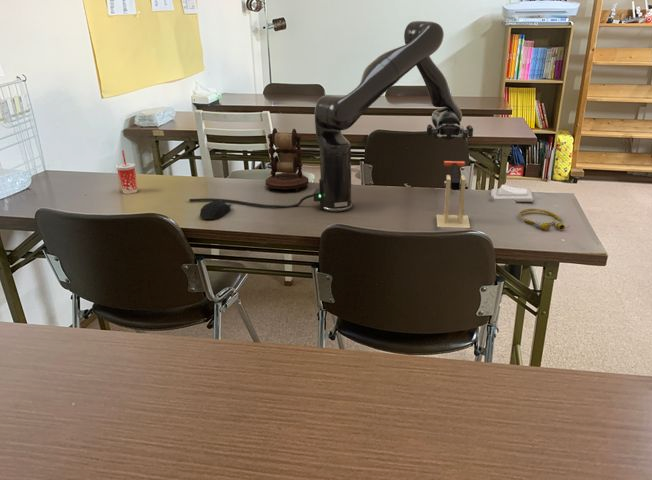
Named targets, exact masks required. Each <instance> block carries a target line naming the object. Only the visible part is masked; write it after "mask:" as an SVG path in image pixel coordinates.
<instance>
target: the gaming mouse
mask: <svg viewBox="0 0 652 480" xmlns="http://www.w3.org/2000/svg"><path fill="white" fill-rule="evenodd" d="M231 205H232V204H231V203H229V204H228V203H227V202H226V203H225V201H221V200H220V201H217V200H216V201H210V202H207V203H206V204H204V205H203V206H202V207H201V209H200V212H199V217H200V218H202V219H205V220H214V219H219V218H222V217H223V216H224V215H226V214H227V213H229V212H230V211H231Z"/></svg>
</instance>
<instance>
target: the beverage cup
mask: <svg viewBox="0 0 652 480" xmlns="http://www.w3.org/2000/svg"><path fill="white" fill-rule="evenodd" d="M121 153H122V159H123V163H120V164H117V165H116V166H115V168H116V169H115V170H117V174H118V178H119V182H120V187H121V189H122V193H123V194H127V195H128V194H129V195H130V194H136V193H137V192H138V181H137V174H136V173H137V172H136V164H135V163H131V162H128V163H126V156H125V152H124V150H122V151H121Z"/></svg>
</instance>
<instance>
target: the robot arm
mask: <svg viewBox="0 0 652 480" xmlns="http://www.w3.org/2000/svg"><path fill="white" fill-rule="evenodd" d="M444 34H445V33H444V29H443V27H442V25H440V23H438V22H434V21H427V20H414V21H413V20H412V21H411V22H409V23H408V24H407V25H406V27H405V29H404V32H403V41H404V44H403V45H402V46H399V47H396V48H392V49H391V50H387V51H386V52H383V53H382V54H381V55H379V56H378V57H376V58H375V59H374V60H373V61H372V62H370V63H368V65H367V66H366V67H365V68H364V70H363V73H362V75H361V79H360V83H359V84H358V85H357V86H356V87H355V88H354V89H353V90H352V91H350V92H348V94H346V95H344V96H339V95H331V94H326V95H322V96H321V97H320V98H318V100H317V102H316V103H315V107H314V127H315V137H316V143H317V145H318V148H319V168H320V169H319V170H320V171H319V173H320V177H319V179H318V183H319V185H318V186H319V187H317V188H315V190H314V191H313V193H312V194H309V195H305V196H303V197H302V198H301V199H300V200H299V202H298V203H297V202H296V203H294V204H290V205H283V204H282V205H280V204H264V203H257V202H256V203H255V202H248V201H242V200H237V199H236V200H235V199H226V198H213V197H211V198H210V197H208V198H207V197H206V198H205V197H204V198H189V202H206V201H210V202H212V201H216V200H217V201H220V200H221V201H222V202H224V203H225V202H226V203H235V204H241V205H246V206H247V205H248V206H254V207H261V208H275V209H276V208H277V209H278V208H280V209H287V208H288V209H289V208H295V207H298V206H300V205H301V204H302V203H303V201H305V200H307V199H311V198H313V202H319V210H321V211H326V212H330V213H331V212H332V213H340V212H341V213H342V212H345V211H348V210H351V209H352V206H353V204H352V146H351V142H350V141H349V140H348V139H347V138H346V137H345V136H344V135H343V133H342V131H346V130H348V129H350V128H351V127H352V126H353V125H354V124H355V123H356V122H357V121H358V120H359V119H360V118H361V117H362V116H363V114H364V113H365V112H366V111H367V110H368V109H369V107H370V106H372V105H373V104H374V103H375V102H376V101H377V100H378V99H379V98H380V97H381V96H383V95H384V94H385V93H386V92H388V90H390V89H391V88H392V87H393V86H395V84H397V83H398V82H399V81H400V80H401V79H402V78H403V77H404V76H405V75H406V74H408V73H409V72H410V71H412V70H413V68H414V67H416V68H417V70H418V71H419V74H420V75H421V78H422V80H423V82H424V84H425V87H426V90H427V93H428V96H429V100H430V102H431V104H432V106H433V107H435V108H438V109H436V110H434V111H433V112H432V114H431V123H432V124H427V126H426V136H427V137H430V136H432V138H434V139H438V138H442V139H443V140H450V141H451V140H454V139H456V138H462V139H463V140H466V139H467V138H473V137H474V127H473V126H472V125H470V124H469V125H466V127H464V125H461V122H462V120H463V112H462V110H461V108H460V107H459V105H458V104H457V102H455V100H454V98H453V97H452V93H451V90H450V87H449V84H448V81H447V79H446V76H445V75H444V73H443V72H442V71H441V69H440V68H439V67H438V65H436V63H435V62H434V61H433V59H432V58H431V55H434V54H435V53H436V52H437V51H438V50H439V48H440V47H441V45H442V43H443V40H444V38H445V37H444Z"/></svg>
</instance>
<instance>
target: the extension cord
mask: <svg viewBox="0 0 652 480" xmlns="http://www.w3.org/2000/svg"><path fill="white" fill-rule="evenodd" d="M527 214H538V215H539V214H540V215H546V216H550V217H553V218H556V220H554V221H551V222H543V221H538V220H535V221H533V220H530V219H528V218H524V217H523V216H524V215H527ZM518 216H519V217H520V218H522V219H523V221H524V223H526V224H527V225H533V226H536V227H537V228H538V229H541V230H543V231H549V230H550V229H551V226H554V227H555V228H556V229H558V230H560V231H564V230H565V225H564V224H563V222H562V221H561V219H560V216H559V215H557V214H555V213H554V212H551V211H549V210H545V209H540V208H526V209H522V210H520V211H519V212H518Z"/></svg>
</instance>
